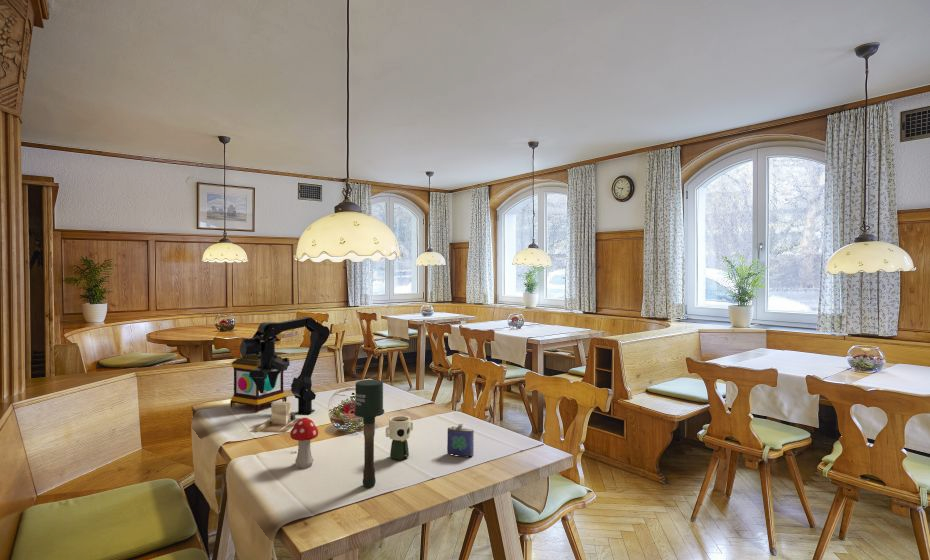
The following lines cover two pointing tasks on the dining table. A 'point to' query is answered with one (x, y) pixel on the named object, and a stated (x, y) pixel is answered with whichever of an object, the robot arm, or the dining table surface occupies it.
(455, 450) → the flask
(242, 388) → the decorative lantern
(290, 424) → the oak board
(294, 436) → the decorative mushroom
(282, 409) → the cream rectangular block
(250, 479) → the dining table surface
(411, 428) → the character mug
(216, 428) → the dining table surface
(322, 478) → the dining table surface
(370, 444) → the potato masher grenade
